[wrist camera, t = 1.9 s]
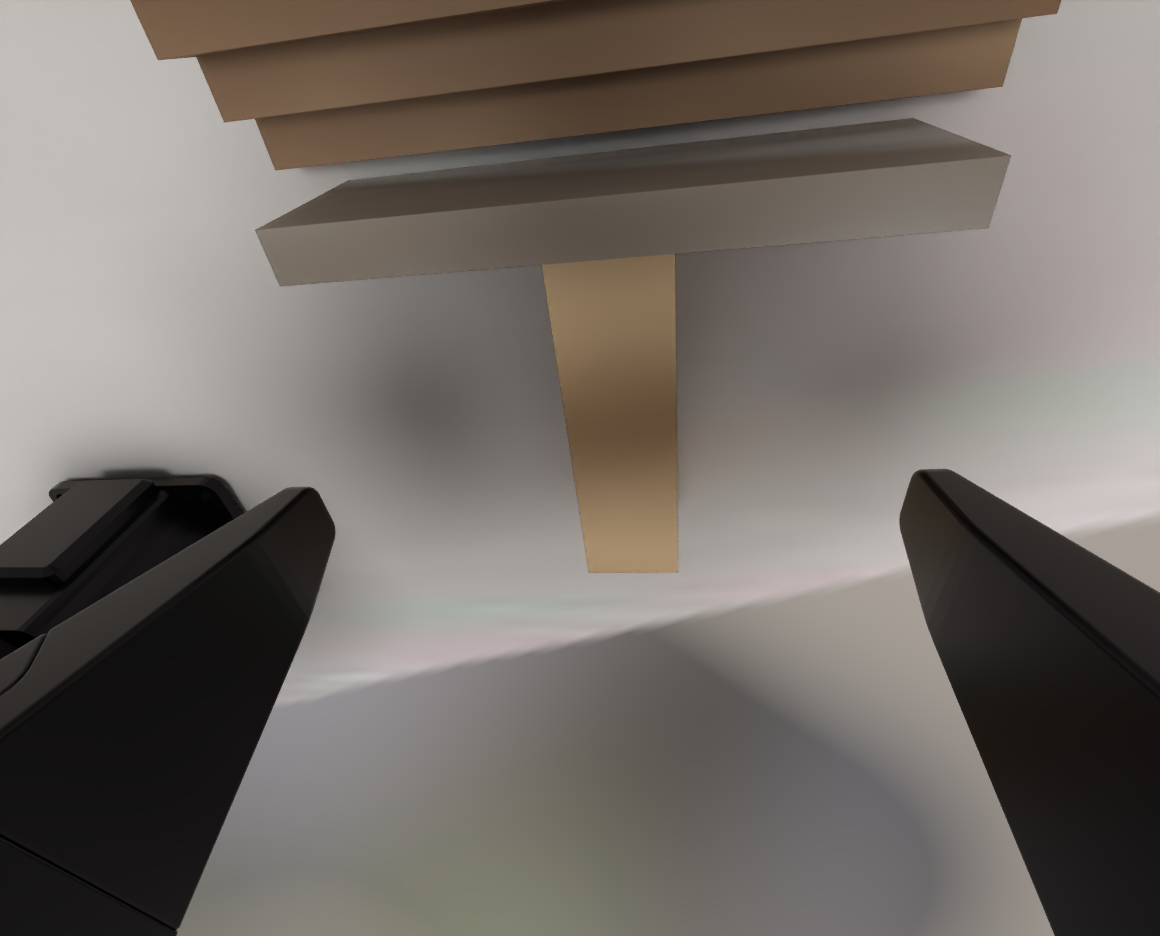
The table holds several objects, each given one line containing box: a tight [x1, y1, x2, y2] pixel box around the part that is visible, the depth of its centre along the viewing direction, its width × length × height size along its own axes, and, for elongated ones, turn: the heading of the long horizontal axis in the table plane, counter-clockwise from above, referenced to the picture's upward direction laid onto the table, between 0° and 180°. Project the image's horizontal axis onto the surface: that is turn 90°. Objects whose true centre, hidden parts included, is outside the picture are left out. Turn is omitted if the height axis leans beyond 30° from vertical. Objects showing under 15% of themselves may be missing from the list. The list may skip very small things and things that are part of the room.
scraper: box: [255, 118, 1011, 573], centre depth 14 cm, size 10×12×4 cm
